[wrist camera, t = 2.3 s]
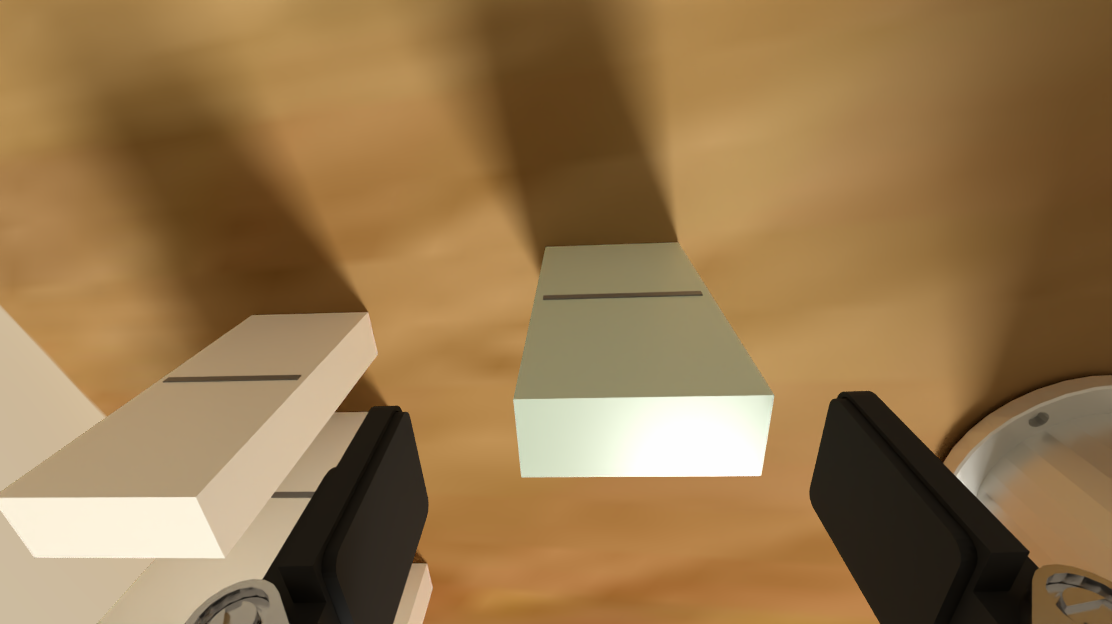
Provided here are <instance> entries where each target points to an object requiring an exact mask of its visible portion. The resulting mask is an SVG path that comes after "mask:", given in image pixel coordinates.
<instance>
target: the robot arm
mask: <svg viewBox="0 0 1112 624" xmlns="http://www.w3.org/2000/svg"><path fill="white" fill-rule="evenodd" d="M810 500H811V504H812V506H813V508H814V510H815V512H816V513H817V515H818V517H819V519H820V520H821V522H822V524H823V525H824V527H825V529H826V531H827V532H828V534H829V536H830V538H831V539H832V541H833V543H834V545H835V546H836V548H837V550H838V551H839V553H840V555H841V557H842V558H843V560H844V562H845V564H846V565H847V567H848V569H849V571H850V572H851V574H852V576H853V577H854V579H855V581H856V583H857V584H858V586H859V588H860V590H861V591H862V593H863V595H864V597H865V598H866V600H867V602H868V603H869V605H870V607H871V609H872V610H873V612H874V614H875V616H876V617H877V619H878V621H879V622H880V624H1112V375H1103V376H1089V377H1084V378H1078V379H1073V380H1067V381H1063V382H1059V383H1056V384H1053V385H1050V386H1047V387H1043V388H1040V389H1037V390H1035V391H1032V392H1030V393H1028V394H1026V395H1023V396H1021V397H1019V398H1017V399H1015V400H1012V401H1010V402H1009V403H1007V404H1005V405H1004V406H1002V407H1001V408H999V409H997V410H996V411H994V412H992V413H991V414H989V415H988V416H986V417H985V418H984V419H983V420H981V421H980V422H979V423H978V424H976V425H975V426H974V427H973V428H971V429H970V430H969V431H968V432H967V433H966V434H965V435H964V436H963V437H962V438H961V439H960V441H959V442H958V443H957V444H956V445H955V446H954V447H953V448H952V450H951V451H950V453H949V455H948V456H947V458H946V459H945V461H944V462H943V463H942V462H941V461H940V460H939V459H938V458H937V457H936V456H935V454H934V453H933V452H932V451H931V450H930V449H929V448H928V447H927V446H926V445H925V444H924V443H923V442H922V441H921V440H920V439H919V438H918V437H917V436H916V435H915V434H914V433H913V432H912V431H911V430H910V429H909V428H908V427H907V426H906V425H905V424H904V423H903V422H902V421H901V420H900V419H899V418H898V417H897V416H896V415H895V414H894V413H893V412H892V411H891V410H890V409H889V408H888V407H887V406H886V405H885V403H884V402H883V401H882V400H881V399H880V398H879V397H878V396H877V395H876V394H874V393H873V392H871V391H853V392H841V393H840V394H839V395H838V397H837V399H832V401H831V402H830V405H829V409H828V413H827V417H826V422H825V426H824V430H823V434H822V439H821V443H820V447H819V452H818V456H817V460H816V464H815V469H814V473H813V477H812V482H811V486H810ZM427 514H428V496H427V492H426V487H425V483H424V478H423V474H422V469H421V465H420V460H419V455H418V451H417V446H416V442H415V437H414V433H413V428H412V424H411V419H410V416H409V413H408V412H402V410H401V408H400V407H399V406H374V407H372V408H371V409H370V410H369V412H368V414H367V415H366V417H365V419H364V420H363V422H362V424H361V426H360V427H359V429H358V431H357V432H356V434H355V436H354V437H353V439H352V441H351V443H350V444H349V446H348V448H347V449H346V451H345V453H344V455H343V456H342V458H341V460H340V461H339V463H338V465H337V466H336V467H333V468H332V469H330V470H329V471H328V472H327V474H326V475H325V476H324V478H323V480H322V481H321V483H320V485H319V486H318V488H317V489H316V491H315V493H314V494H313V496H312V498H311V499H310V501H309V503H308V504H307V506H306V508H305V509H304V511H303V513H302V514H301V516H300V518H299V519H298V521H297V523H296V524H295V526H294V528H293V529H292V531H291V533H290V534H289V536H288V538H287V539H286V541H285V543H284V544H283V546H282V548H281V549H280V551H279V553H278V554H277V556H276V558H275V559H274V561H273V562H272V564H271V566H270V567H269V569H268V571H267V572H266V574H265V576H264V577H263V579H262V580H260V579H250V580H246V581H241V582H237V583H235V584H233V585H230V586H228V587H226V588H223V589H222V590H220V591H219V592H217V593H216V594H214V595H213V596H211V597H210V598H208V599H207V600H206V601H205V602H204V603H203V604H201V605H200V606H199V607H198V608H197V609H196V610H195V611H194V612H193V613H192V615H191V616H190V617H189V619H188V620H187V621H186V622H185V624H393V623H394V620H395V616H396V613H397V610H398V607H399V604H400V600H401V597H402V594H403V591H404V588H405V584H406V581H407V578H408V575H409V572H410V569H411V565H412V562H413V559H414V556H415V553H416V549H417V546H418V543H419V540H420V537H421V534H422V530H423V527H424V524H425V521H426V518H427Z"/></svg>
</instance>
